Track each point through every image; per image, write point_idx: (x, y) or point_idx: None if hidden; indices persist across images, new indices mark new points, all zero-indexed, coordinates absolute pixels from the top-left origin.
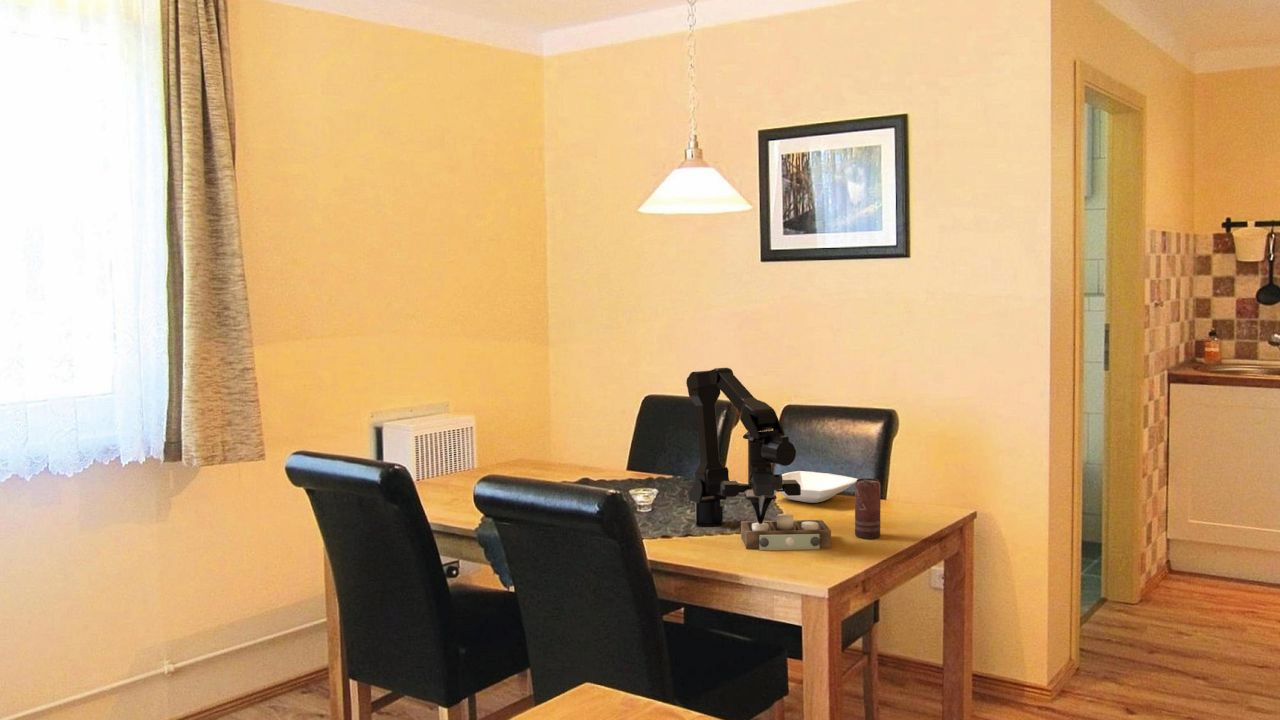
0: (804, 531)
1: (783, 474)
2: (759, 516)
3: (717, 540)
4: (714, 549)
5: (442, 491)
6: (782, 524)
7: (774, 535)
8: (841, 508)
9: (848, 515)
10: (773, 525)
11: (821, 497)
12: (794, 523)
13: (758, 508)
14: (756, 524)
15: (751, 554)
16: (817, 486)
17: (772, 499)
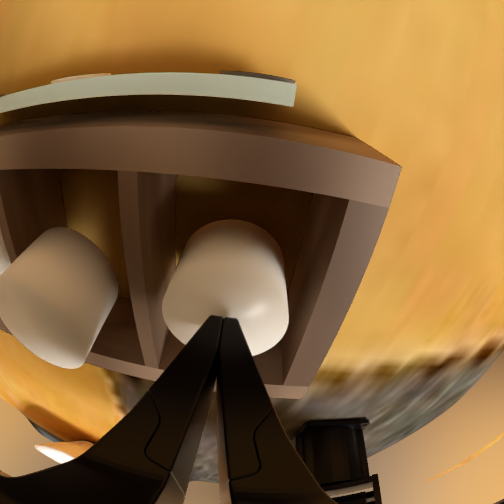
0: None
1: None
2: (229, 360)
3: (405, 313)
4: (484, 188)
5: (481, 451)
6: (64, 256)
7: (158, 73)
8: (46, 414)
9: (22, 387)
10: (133, 308)
11: (71, 443)
12: None
13: (236, 433)
14: (253, 324)
15: (361, 23)
16: None
17: (12, 479)
